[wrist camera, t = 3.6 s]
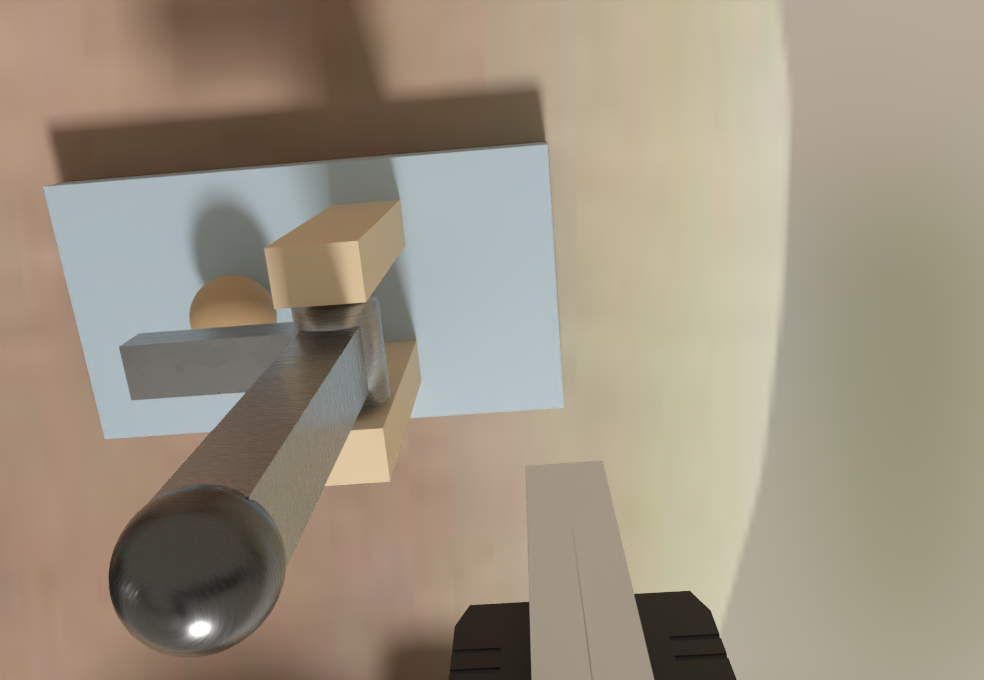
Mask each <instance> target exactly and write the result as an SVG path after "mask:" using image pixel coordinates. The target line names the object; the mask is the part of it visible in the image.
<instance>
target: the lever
mask: <svg viewBox="0 0 984 680" xmlns="http://www.w3.org/2000/svg"><path fill="white" fill-rule="evenodd" d="M291 312H292V318H293V322H283V323H269V324H256V325H243V326H229V327H216V328H203V329H189V330H176V331H162V332H149V333H139V334H137V335H136V336H134V337H133V338H131V339H130V340H128V341H127V342H125V343H124V344H122V345H121V346H119V349H120V354H121V358H122V362H123V367H124V371H125V375H126V379H127V384H128V388H129V392H130V397H131V400H145V399H159V398H173V397H187V396H202V395H216V394H230V393H244V392H246V393H245V394H244V395H243V396H242V397H241V399H240V400H239V401H238V402H237V403H236V404H235V405H234V407H233V408H232V409H231V410H230V411H229V412H228V413H227V414H226V416H225V417H224V418H223V419H222V420H221V421H220V422H219V424H218V425H217V426H216V427H215V428H214V429H213V430H212V431H211V433H210V434H209V435H208V436H207V437H206V438H205V439H204V441H203V442H202V443H201V444H200V445H199V446H198V447H197V448H196V450H195V451H194V452H193V453H192V454H191V455H190V456H189V457H188V459H187V460H186V461H185V462H184V463H183V464H182V465H181V467H180V468H179V469H178V470H177V471H176V472H175V473H174V474H173V476H172V477H171V478H170V479H169V480H168V481H167V482H166V484H165V485H164V486H163V487H162V488H161V489H160V490H159V491H158V493H157V494H156V495H155V496H154V497H153V498H152V499H151V501H150V502H149V503H148V504H147V505H146V506H144V507H143V508H142V509H141V510H140V511H139V512H138V513H137V514H136V515H135V516H134V517H133V518H132V519H131V520H130V521H129V523H128V524H127V526H126V527H125V529H124V530H123V531H122V533H121V535H120V537H119V539H118V541H117V543H116V545H115V548H114V550H113V554H112V557H111V562H110V567H109V591H110V596H111V600H112V603H113V606H114V609H115V612H116V614H117V616H118V618H119V619H120V621H121V622H122V624H123V625H124V626H125V628H126V629H127V630H128V631H129V632H130V633H131V634H132V635H133V636H134V637H135V638H136V639H137V640H138V641H140V642H141V643H142V644H144V645H146V646H147V647H149V648H151V649H153V650H155V651H158V652H161V653H164V654H167V655H172V656H179V657H200V656H206V655H211V654H215V653H218V652H221V651H224V650H226V649H228V648H230V647H232V646H234V645H236V644H238V643H240V642H241V641H243V640H244V639H245V638H247V637H248V636H249V635H251V634H252V633H253V632H254V631H255V630H256V629H257V628H258V627H259V626H260V625H261V624H262V623H263V622H264V621H265V619H266V618H267V617H268V615H269V614H270V613H271V611H272V609H273V607H274V606H275V604H276V602H277V600H278V598H279V595H280V592H281V589H282V586H283V583H284V578H285V571H286V566H287V564H288V562H289V560H290V558H291V556H292V553H293V551H294V549H295V547H296V545H297V543H298V541H299V539H300V537H301V534H302V532H303V530H304V528H305V526H306V524H307V522H308V520H309V518H310V516H311V513H312V511H313V509H314V507H315V505H316V503H317V501H318V499H319V497H320V494H321V492H322V490H323V488H324V486H325V484H326V482H327V480H328V478H329V475H330V473H331V471H332V469H333V467H334V465H335V463H336V461H337V459H338V457H339V454H340V452H341V450H342V448H343V446H344V444H345V442H346V440H347V438H348V435H349V433H350V431H351V429H352V427H353V425H354V423H355V421H356V419H357V416H358V414H359V412H361V411H364V410H368V409H371V408H374V407H376V406H378V405H380V404H382V403H384V402H385V401H386V400H387V399H388V398H389V397H390V394H391V393H390V385H389V378H388V370H387V362H386V354H385V347H384V339H383V331H382V323H381V316H380V308H379V300H378V296H377V295H376V294H374V293H372V294H371V296H370V297H369V299H368V300H367V302H363V303H350V304H337V305H324V306H310V307H297V308H291Z"/></svg>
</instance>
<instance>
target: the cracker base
mask: <svg viewBox="0 0 984 680" xmlns="http://www.w3.org/2000/svg"><path fill="white" fill-rule="evenodd" d="M43 189H44V193H45V197H46V201H47V205H48V209H49V214H50V218H51V222H52V226H53V230H54V234H55V238H56V242H57V246H58V250H59V254H60V258H61V262H62V266H63V270H64V275H65V279H66V283H67V287H68V291H69V295H70V299H71V303H72V307H73V311H74V315H75V319H76V323H77V327H78V331H79V335H80V340H81V344H82V348H83V352H84V356H85V360H86V364H87V368H88V372H89V376H90V380H91V384H92V388H93V392H94V396H95V401H96V405H97V409H98V413H99V417H100V421H101V425H102V429H103V433H104V437H105V439H113V438H128V437H142V436H157V435H172V434H186V433H201V432H211V431H212V430H213V429H214V428H215V427H216V426H217V425H218V424H219V422H220V421H221V420H222V419H223V418H224V417H225V416H226V414H227V413H228V412H229V411H230V410H231V409H232V408H233V407H234V405H235V404H236V403H237V402H238V401H239V400H240V399H241V397H242V396H243V395H244V394H245V393H246V392H244V393H230V394H216V395H202V396H187V397H173V398H159V399H145V400H131V397H130V392H129V388H128V384H127V379H126V375H125V371H124V367H123V362H122V358H121V354H120V349H119V346H121V345H122V344H124V343H125V342H127V341H128V340H130V339H131V338H133V337H134V336H136V335H137V334H139V333H149V332H162V331H176V330H189V329H203V328H216V327H229V326H243V325H256V324H269V323H283V322H293V318H292V312H291V308H297V307H310V306H324V305H337V304H350V303H363V302H367V300H368V299H369V297H370V296H371V294H372V293H374V294H376V295H377V296H378V300H379V308H380V316H381V323H382V331H383V339H384V347H385V354H386V362H387V370H388V378H389V385H390V393H391V394H390V397H389V398H388V399H387V400H386V401H385V402H384V403H382V404H380V405H378V406H376V407H374V408H371V409H368V410H364V411H361V412H359V414H358V416H357V419H356V421H355V423H354V425H353V427H352V429H351V431H350V433H349V435H348V438H347V440H346V442H345V444H344V446H343V448H342V450H341V452H340V454H339V457H338V459H337V461H336V463H335V465H334V467H333V469H332V471H331V473H330V475H329V478H328V480H327V482H326V484H325V486H330V485H346V484H361V483H377V482H390V480H391V477H392V474H393V471H394V468H395V464H396V461H397V458H398V455H399V452H400V448H401V445H402V442H403V439H404V436H405V432H406V429H407V426H408V423H409V419H410V418H420V417H435V416H449V415H464V414H479V413H493V412H508V411H522V410H537V409H552V408H564V404H563V387H562V371H561V355H560V338H559V322H558V306H557V289H556V273H555V257H554V241H553V224H552V208H551V192H550V175H549V159H548V144H547V143H546V142H535V143H523V144H511V145H499V146H488V147H476V148H464V149H452V150H440V151H428V152H416V153H404V154H392V155H381V156H369V157H357V158H345V159H333V160H321V161H309V162H297V163H286V164H274V165H262V166H250V167H238V168H226V169H214V170H202V171H191V172H179V173H167V174H155V175H143V176H131V177H119V178H107V179H95V180H84V181H72V182H64V183H59V184H54V185H49V186H45V187H43Z"/></svg>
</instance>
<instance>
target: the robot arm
mask: <svg viewBox="0 0 984 680" xmlns="http://www.w3.org/2000/svg"><path fill="white" fill-rule="evenodd" d="M525 468H526V503H527V538H528V573H529V602H521V603H502V604H484V605H470V606H469V607H468V609H467V610H466V612H465V613H464V614H463V616H462V617H461V619H460V620H459V621H458V623H457V624H456V626H455V630H454V639H453V648H452V657H451V666H450V675H449V680H736V677H735V675H734V672H733V669H732V667H731V664H730V661H729V659H728V658H727V654H726V651H725V648H724V645H723V643H722V640H721V638H720V637H719V632H718V629H717V627H716V624H715V621H714V619H713V616H712V613H711V611H710V610H709V609H708V608H707V607H706V606H705V605H704V604H703V603H702V602H701V601H700V600H699V599H698V598H697V597H696V596H694V595H693V594H692V593H691V592H690V591H680V592H662V593H644V594H634V592H633V588H632V583H631V579H630V575H629V571H628V567H627V562H626V558H625V554H624V550H623V545H622V541H621V537H620V533H619V529H618V524H617V520H616V516H615V512H614V508H613V503H612V499H611V495H610V491H609V486H608V482H607V478H606V474H605V470H604V465H603V461H592V462H576V463H560V464H545V465H529V466H525Z"/></svg>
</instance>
